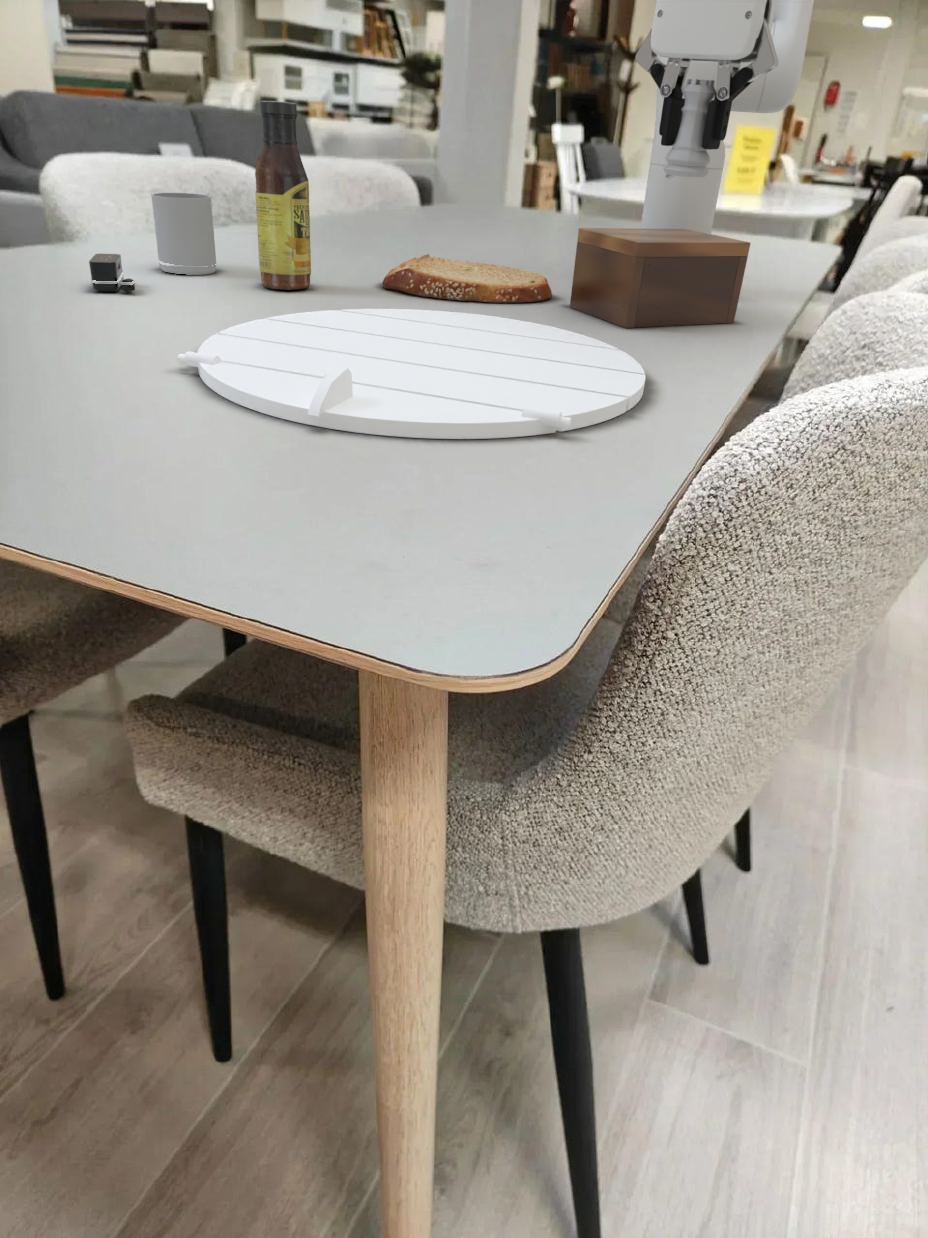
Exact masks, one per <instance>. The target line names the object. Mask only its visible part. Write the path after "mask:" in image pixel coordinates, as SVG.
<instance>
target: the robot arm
mask: <svg viewBox="0 0 928 1238" xmlns="http://www.w3.org/2000/svg"><path fill="white" fill-rule="evenodd" d="M814 2H815V0H656V1H655V7H654V12H653V19H652V25H651V29H650V31H649V32H648V34H647V35H646V37H645V39H644V40H643V42H642V44H641V45H640V46H639V48H638V50H637V52H636V54H635V57H634V58H635V62H636V63H637V64H638V65H639V66H640V67H641V68H643V69H644V71H646V72H647V73H648V74H650V76H651V78H652V79H653V81H654V83H655V84H656V110H655V121H654V122H655V123H654V131H653V139H652V145H651V146H652V148H651V154H650V161H649V168H648V175H647V181H646V188H645V193H644V194H645V195H644V200H643V208H642V214H641V222H640V228H639V229H688V230H692V231H697V232H702V233H707V234H712V231H713V224H714V219H715V213H716V209H717V204H718V198H719V192H720V187H721V184H722V183H721V182H722V177H723V173H724V172H723V171H724V166H725V161H726V147H725V142H724V140H725V138H726V136H727V133H728V126H729V122H730V121H729V120H730V115H731V112H736V113H737V112H739V113H754V114H773V113H779V112H782V111H783V110H785V109H786V108H787V107H789V105H790V104H791V102H792V101H793V99H794V98H795V96H796V93H797V90H798V88H799V84H800V81H801V78H802V77H801V76H802V73H803V67H804V61H805V56H806V50H807V44H808V38H809V33H810V26H811V20H812V15H813V8H814ZM687 79H697V80H714V81H715V82H714V88H715V90H716V93H715V96H714V97H713V98H712V100H711V101H710V102H709V106H708V111H707V117H706V123H705V129H704V135H703V140H702V148H703V149H707V153H708V154H709V156H710V162H709V163H708V164H707V165H706V166H705V167H706V168H707V169H708V171H709V172H708V173H707V174H706V176H705V177H684V176H674V175H668V174H666V173H665V171H664V169H663V168H664V167H665V166H666V165H667V164H668V162H667V160H666V155H667V153H668V152H669V151H670V150H671V149H672V145H673V144H674V143H675V140H676V138H677V135H678V131H679V128H680V124H681V120H682V110H681V109H682V108H683V106H684V103H685V98H684V96H683V93H682V90H683V88H684V87H685V86H686V85H687ZM700 83H701V82H700Z"/></svg>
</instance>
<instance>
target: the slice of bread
mask: <svg viewBox="0 0 928 1238" xmlns="http://www.w3.org/2000/svg"><path fill="white" fill-rule="evenodd" d="M381 284H382V287H383V288H385V289H386V290H392V291H398V292H403V293H406V294H410V295H413V296H418V297H423V298H424V297H425V298H434V299H441V300H450V301H461V302H481V303H495V304H496V303H503V304H504V303H509V304H510V303H514V304H516V303H532V302H533V303H534V302H540V301H545V300H549V299H552V298H553V292H552V289H551V287H550V285H549V282H548V279H547V277H545V276H543V275H542V274H540V273H538V272H533V271H529V270H523V269H519V268H512V267H507V266H504V265H496V264H489V263H483V262H472V261H462V260H457V259H456V260H455V259H447V258H442V257H439V256H430V254H429V253H428V254H424V255H422V256H420V257H417V256H416V257H413V258H412V259H409V260H406V261H403V262H402V263H400V264H399V265H397V266H395V267H394V268H392V269H390V270H389V271H388V273H387V274H386V275H385V276H384V278H383V280H382V283H381Z"/></svg>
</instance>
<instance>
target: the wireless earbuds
mask: <svg viewBox="0 0 928 1238" xmlns="http://www.w3.org/2000/svg"><path fill="white" fill-rule="evenodd" d="M122 263H123V262H122V256H121V254H119V253H95V254H94V255H93V256H92V257H91V258H90V259H89V261H88V264H89V270H90V277H91V281H92V280H96V281H117V280H118V279H119V277H120V275H121V273H122V272H123V273H124V270H123V264H122ZM132 281H134V282H135V279H132V278H129V277H128V278H124V276H123V277H122V278H121V280H120V281H119V283H117V284H95V283H92V282H91V284H92V289H94V291H95V292H97V293H116V292H117V291H118V290H119V289H120V287H121V290H122V291H123V292H124V293H129V292H134V291H135V290H136V286H135V285H136V283H134V284H133V285H121V282H132Z"/></svg>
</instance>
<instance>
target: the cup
mask: <svg viewBox="0 0 928 1238" xmlns="http://www.w3.org/2000/svg"><path fill="white" fill-rule="evenodd" d="M150 196H151V203H152V204H151V205H152V213H153V214H152V215H153V222H154V231H155V239H156V240H155V241H156V247H157V256H158V261H159V260H160V261H162V262H164V263H169V264H174V265H183V266H208V267H173V266H166V265H162V264H160V263H159V262H158V264H159V269H160V270H161V269H162V270H164V271H167V272H171V273H177V274H186V275H185V276H207V275H211V274H214V273H215V272H216V271H217V255H216V254H217V253H216V241H215V230H214V218H213V217H214V216H213V206H212V205H213V204H212V196H211V195H207V194H199V193H190V192H189V193H188V192H156V193H151V195H150ZM215 264H216V265H215ZM212 265H213V266H212ZM162 270H161V271H162Z"/></svg>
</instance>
